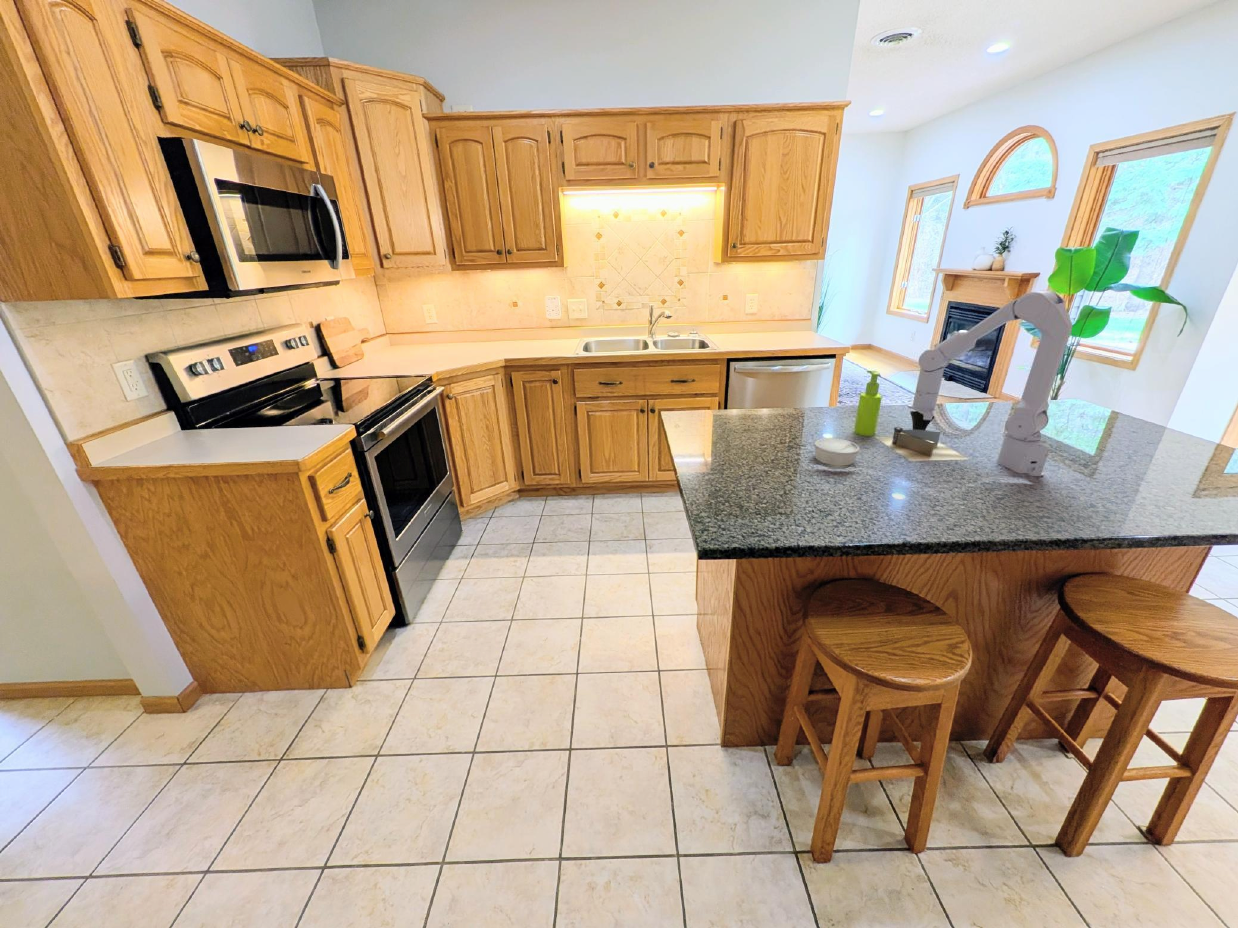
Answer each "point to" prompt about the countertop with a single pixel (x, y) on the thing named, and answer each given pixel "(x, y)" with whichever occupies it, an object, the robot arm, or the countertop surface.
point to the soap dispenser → (868, 407)
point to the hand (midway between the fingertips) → (917, 436)
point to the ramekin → (835, 452)
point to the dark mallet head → (912, 443)
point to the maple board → (938, 454)
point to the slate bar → (924, 434)
